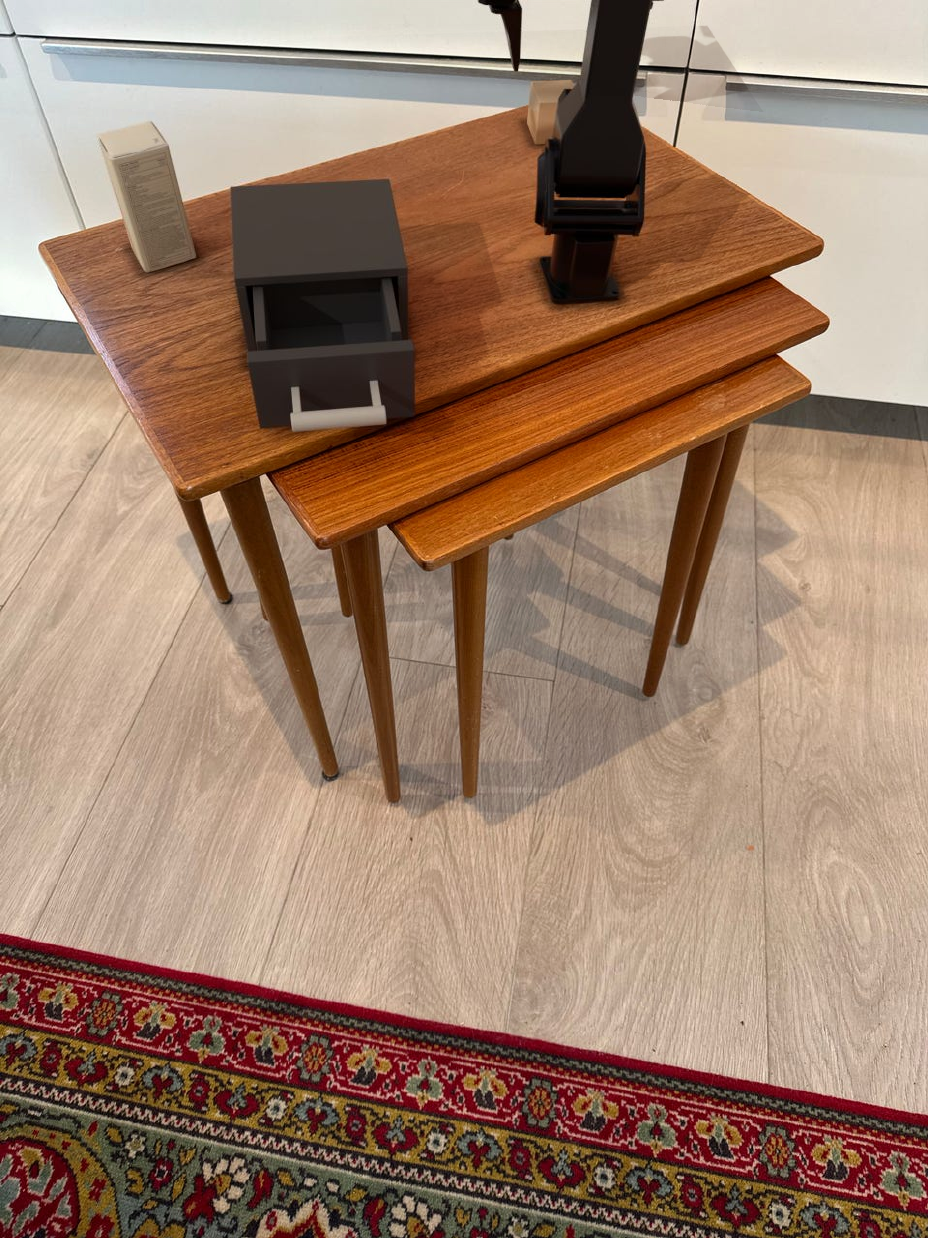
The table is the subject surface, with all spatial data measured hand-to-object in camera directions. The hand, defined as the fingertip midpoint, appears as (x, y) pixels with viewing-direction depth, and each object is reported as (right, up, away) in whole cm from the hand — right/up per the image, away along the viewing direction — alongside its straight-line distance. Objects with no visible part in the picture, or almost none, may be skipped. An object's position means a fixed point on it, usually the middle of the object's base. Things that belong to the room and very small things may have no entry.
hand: (558, 67), depth 95 cm
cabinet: (-22, -30, -13) cm, 39 cm away
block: (0, -4, +6) cm, 7 cm away
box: (-38, -23, -9) cm, 46 cm away
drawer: (-21, -39, -20) cm, 48 cm away
